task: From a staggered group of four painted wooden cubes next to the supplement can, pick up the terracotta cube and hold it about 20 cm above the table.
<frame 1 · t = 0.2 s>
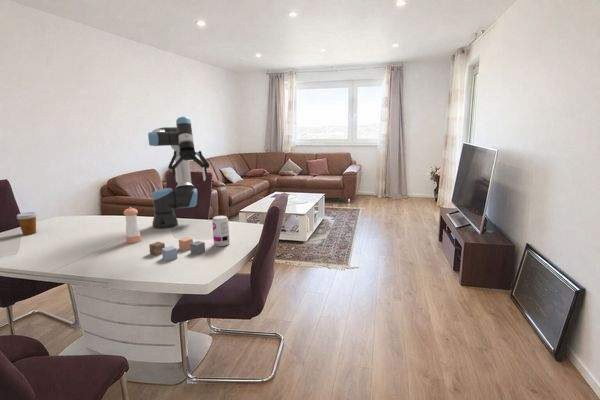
hand: (191, 180, 179), 35 cm above the table, tool tilted 35°, fingers open, 13 cm apart
terracotta cube: (186, 248, 182), on the table
disposable coffee cup: (29, 233, 209), on the table
supplement can: (221, 244, 187), on the table
slate blue cube: (170, 258, 168), on the table
pepper shaker: (133, 241, 194), on the table
walnut cube: (157, 253, 175), on the table
charcoal cube: (198, 252, 176), on the table
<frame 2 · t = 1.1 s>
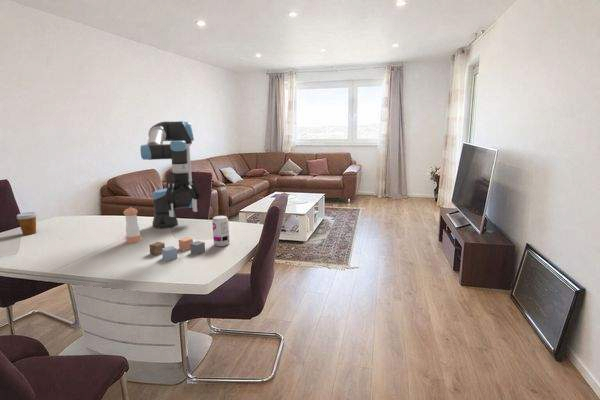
hand: (183, 214, 178), 18 cm above the table, tool pointing down, fingers open, 13 cm apart
nothing on the table moved.
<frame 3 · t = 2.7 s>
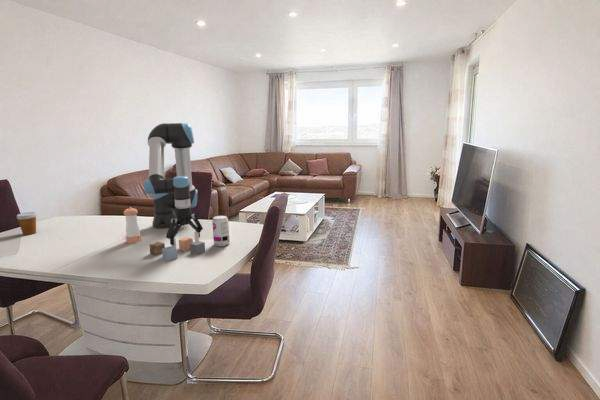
hand: (186, 247, 182), 1 cm above the table, tool pointing down, fingers open, 13 cm apart
nothing on the table moved.
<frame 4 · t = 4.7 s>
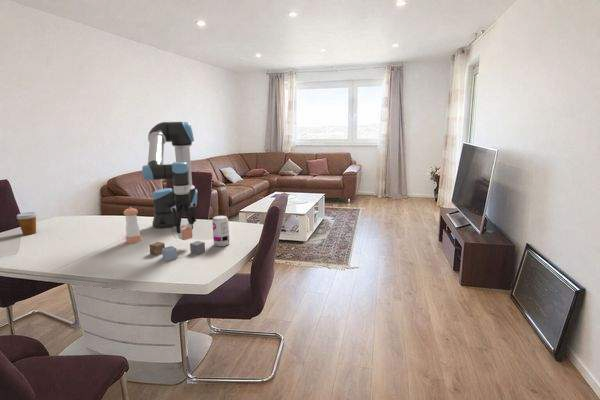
hand: (185, 237, 181), 6 cm above the table, tool pointing down, fingers closed on terracotta cube, 5 cm apart
terracotta cube: (185, 238, 181), point 5 cm above the table, touching gripper
everything else where it was.
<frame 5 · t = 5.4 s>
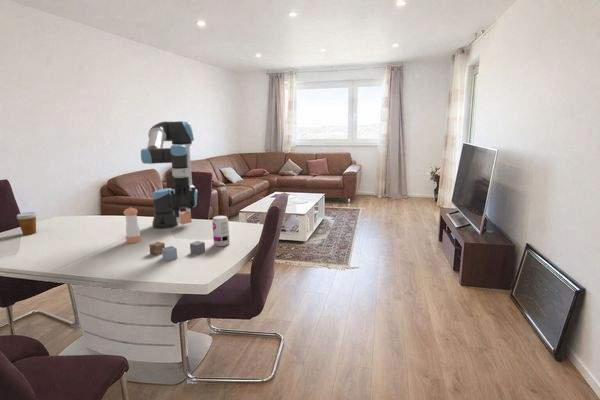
hand: (184, 221, 179), 14 cm above the table, tool pointing down, fingers closed on terracotta cube, 5 cm apart
terracotta cube: (184, 222, 179), point 14 cm above the table, touching gripper
everything else where it was.
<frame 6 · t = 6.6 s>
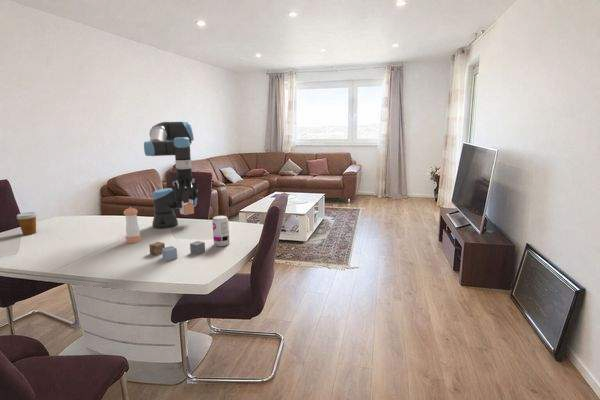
hand: (187, 212, 183), 18 cm above the table, tool pointing down, fingers closed on terracotta cube, 5 cm apart
terracotta cube: (187, 213, 183), point 17 cm above the table, touching gripper
everything else where it was.
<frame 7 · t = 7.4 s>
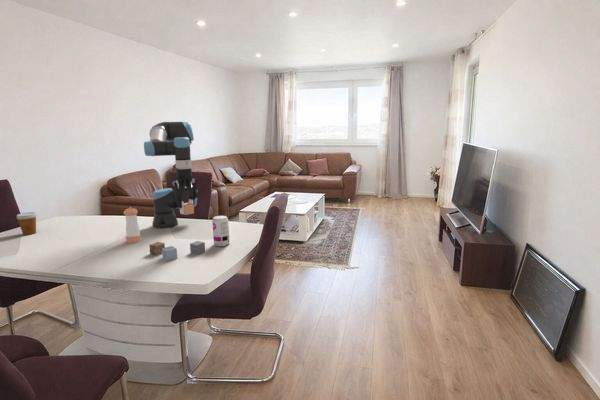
hand: (187, 212, 183), 18 cm above the table, tool pointing down, fingers closed on terracotta cube, 5 cm apart
terracotta cube: (187, 213, 183), point 17 cm above the table, touching gripper
everything else where it was.
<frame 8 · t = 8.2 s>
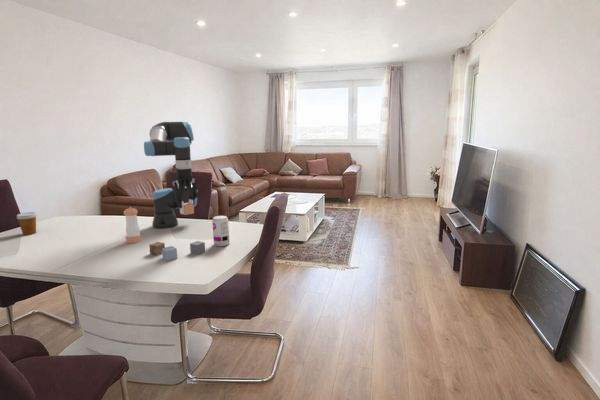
hand: (187, 212, 183), 18 cm above the table, tool pointing down, fingers closed on terracotta cube, 5 cm apart
terracotta cube: (187, 213, 183), point 17 cm above the table, touching gripper
everything else where it was.
at the end: the gripper is holding terracotta cube; terracotta cube point 17.3 cm above the table; charcoal cube moved 0.1 cm from its start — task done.
